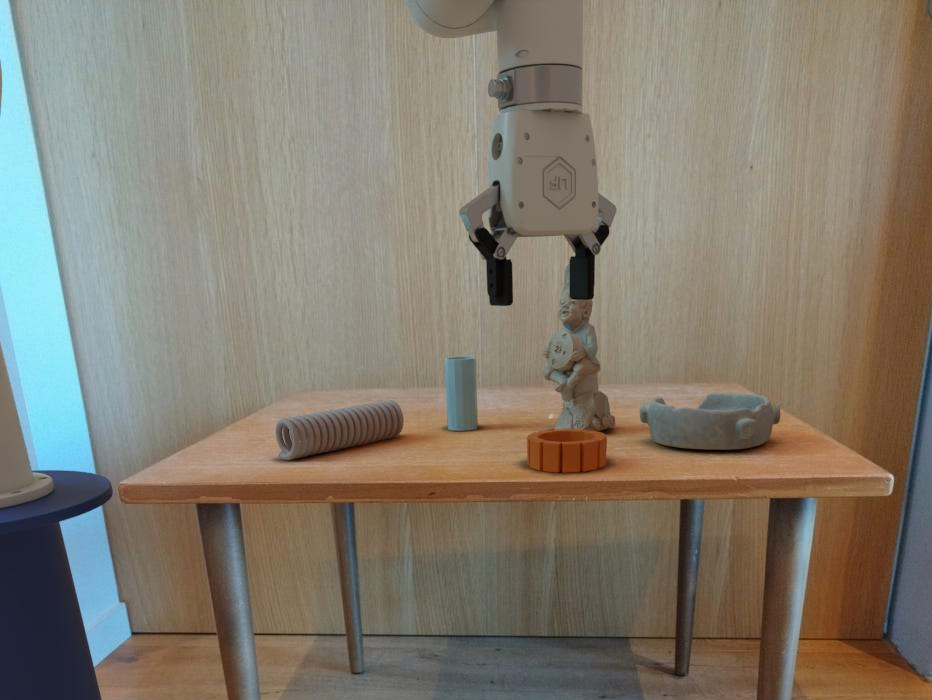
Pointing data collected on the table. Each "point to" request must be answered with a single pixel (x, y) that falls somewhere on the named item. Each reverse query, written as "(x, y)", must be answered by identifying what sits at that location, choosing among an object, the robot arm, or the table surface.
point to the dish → (713, 422)
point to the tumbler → (461, 393)
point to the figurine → (577, 367)
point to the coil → (338, 429)
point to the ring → (566, 450)
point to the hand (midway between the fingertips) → (542, 302)
